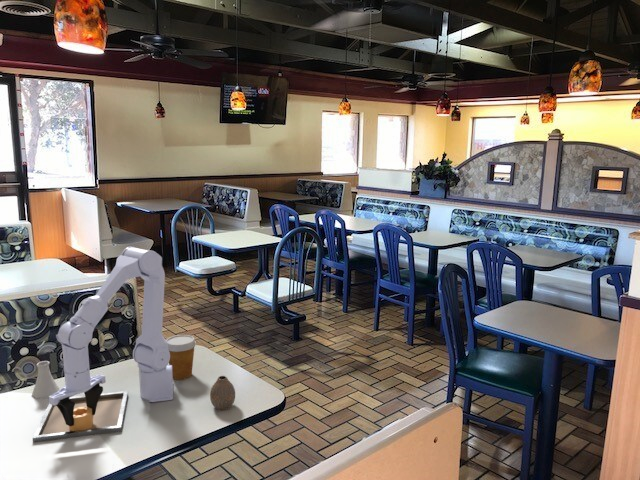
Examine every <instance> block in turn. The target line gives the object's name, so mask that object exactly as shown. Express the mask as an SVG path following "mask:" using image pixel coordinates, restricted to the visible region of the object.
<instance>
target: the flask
mask: <svg viewBox="0 0 640 480" xmlns="http://www.w3.org/2000/svg"><path fill="white" fill-rule="evenodd" d="M50 364H51V363H50V361H48V360H42V361H39V362H37V364H36V367H37V377H36V380H35V384H34V387H33V391H32V392H31V397H32V398H36V399H49V396H51V395H53V394H55V393H56V392H58V391H59V390H60V387H59V386H58V384H57V382H56V381H55V379H54V377H53V376H52V373H51V370H50Z"/></svg>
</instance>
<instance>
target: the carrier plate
mask: <svg viewBox="0 0 640 480" xmlns="http://www.w3.org/2000/svg"><path fill="white" fill-rule="evenodd" d="M122 399H123V397H118V398H108V399H99V400H98V403H97V407H96V412H95V415H93V425H92V427H91V428H89V429H94V428H102V427H110V426H117V423H118V419H119V414H120V409H121V404H122ZM74 403H75V405H74V409H75V408H78V407H87V404H86V401H81V402H74ZM125 410H126V408H125ZM122 426H123V424H122ZM70 431H71V430H69V426H68V425H66V423H65V420H64V417H63V415H62V413H61V411H60V410H59V408H58V407H57V406H56V405H55V406H54V407H53V410H52V412H51V414H50V416H49V418H48V420H47V423H46V425H45V427H44V429H43V431H42V433H41V435H45V434H53V433H61V432H70ZM115 433H116V432H114V434H115ZM106 434H108V433H106ZM106 434H105V435H106ZM98 435H100V434H98ZM98 435H97V436H98ZM92 436H93V435H90V436H89V437H92ZM83 437H85V436H82V437H81V438H83ZM75 438H76V439H77V437H74V438H73V439H75ZM67 439H69V438H66V439H65V440H67ZM58 440H61V439H58ZM58 440H57V441H58ZM51 441H53V440H50V441H49V442H51ZM43 442H45V441H42V442H41V443H43ZM34 443H37V442H34ZM34 443H33V444H34Z"/></svg>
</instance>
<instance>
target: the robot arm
mask: <svg viewBox="0 0 640 480" xmlns="http://www.w3.org/2000/svg"><path fill="white" fill-rule="evenodd" d="M139 277H140V278H141V279H143V282H144V283H143V284H144V285H143V301H142V302H143V303H142V305H143V306H142V321H141V322H142V323H141V324H142V325H141V334H140V335H139V336H138V337H137V338H136V339H135V346H134V348H133V350H132V359H133V361H134V362H135V363H137V367H138V376H139V395H140V398H141V399H143V400H147V401H148V403H156V402H164V401H172V400H174V390H175V383H174V379H173V373H172V365H169V361H170V352H169V350H168V342H167V341H166V340H167V339H166V338H165V337H164V336H163V321H164V304H165V303H164V302H165V285H166V284H165V280H166V273H165V270H164V267H163V257H162V256H161V255H160V254H159V253H157V252H156V251H154V250H152V249H151V250H150V249H143V248H138V247H135V246H127V247H126V248H124V249H123V250H122V252H121V253H120V255H118V257H117V258H116V262H115V266H114V267H113V269H112V270H111V272H110V273H109V274H108V276H107V278H106V280H105V281H104V282H103V284H102V285H101V286H100V287H99V289H98V291H97V292H96V294H95V295H93V296H88V297H87V298H86V299H83V300H82V301H81V306H80V308H79V309H78V310H77V311H76V312H75V314H74V315H73V316H72V317H71V318H70V319H69V321H67V322H66V323H63V324H62V325H61V326H60V327H59V329H58V332H57V334H55V338H56V340H57V341H58V342H59V344H61V349H62V357H63V361H62V362H63V372H64V383H65V386H63V387H62V388H61V389H60V388H59V389H60V390H59V391H58V392H56V393H55V394H53V395H51V396H49V398H48V402H49V403H48V405H49V404H51V405H54V406H55V405H56V406H57V407H58V408H59V410H60V411H61V413H62V415H63V417H64V420H65V423H66V425H68V426H73V425H74V416H73V412H74V405H75V403H74V402H72V401H71V399H69V398H70V397H75V396H77V395H79V394H83V393H84V396H85V397H86V404H87V407H89V408H92V415H95V412H96V407H97V403H98V400H99V397H100V395H101V394H103V392H104V387H103V386H101V384H102V385H103V384H106V382H107V381H106V375H103V374H101V373H100V374H97V375H94V376H91V371H90V358H89V357H90V356H89V344H90V343H91V342H92V339H93V332H94V331H95V328H96V326H97V325H98V323H99V322H100V321H101V320H102V319H103V317H104V315H105V314H106V313H107V312H108V309H109V308H108V307H109V306H108V303H109V302H110V300H111V299H112V298H113V297H114V296H115V294H116V293H117V292H118V291H119V290H120V288H121V287H122V286H123V285H124V284H125V283H126V282H127V280H128V279H129V280H130V279H135V278H139Z"/></svg>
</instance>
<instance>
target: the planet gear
mask: <svg viewBox="0 0 640 480" xmlns="http://www.w3.org/2000/svg"><path fill="white" fill-rule="evenodd" d="M73 416H74V425H73V426H69V430H71V431H78V430H86V429H89V428H91V427H92V425H93V416H92V408H89V407H78V408H75V409H74V412H73Z"/></svg>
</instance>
